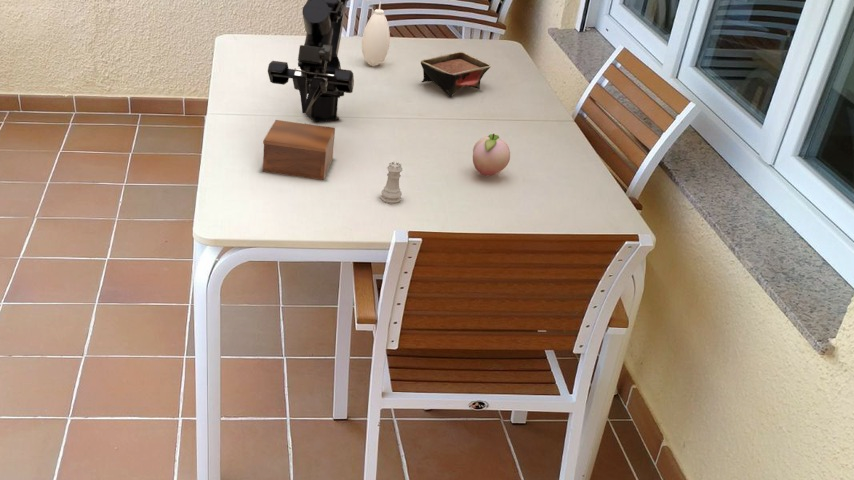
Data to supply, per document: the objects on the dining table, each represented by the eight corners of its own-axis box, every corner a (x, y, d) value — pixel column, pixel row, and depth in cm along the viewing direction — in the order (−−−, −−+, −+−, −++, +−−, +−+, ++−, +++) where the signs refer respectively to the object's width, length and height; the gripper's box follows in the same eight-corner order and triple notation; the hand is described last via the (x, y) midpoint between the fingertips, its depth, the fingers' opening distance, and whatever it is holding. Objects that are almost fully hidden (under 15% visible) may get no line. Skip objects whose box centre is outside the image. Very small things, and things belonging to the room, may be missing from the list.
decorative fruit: (505, 187, 213) (514, 144, 207) (468, 182, 214) (476, 139, 208) (505, 170, 220) (514, 128, 215) (469, 165, 221) (476, 123, 216)
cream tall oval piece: (360, 59, 280) (367, -5, 270) (387, 62, 280) (395, -2, 269) (358, 67, 274) (365, 2, 264) (386, 70, 273) (393, 5, 263)
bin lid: (325, 152, 206) (325, 148, 205) (263, 143, 208) (263, 140, 207) (334, 131, 216) (335, 127, 215) (275, 123, 218) (275, 119, 217)
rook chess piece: (378, 194, 206) (382, 159, 201) (399, 195, 206) (403, 160, 202) (382, 204, 202) (386, 168, 198) (403, 204, 203) (407, 168, 198)
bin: (323, 180, 210) (326, 150, 206) (262, 171, 212) (264, 142, 208) (332, 159, 220) (334, 131, 216) (274, 151, 222) (275, 123, 218)
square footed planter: (489, 99, 265) (498, 61, 260) (442, 99, 255) (450, 60, 250) (453, 86, 275) (460, 50, 270) (406, 86, 265) (413, 48, 260)
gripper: (271, 23, 208) (257, 90, 205) (357, 33, 205) (344, 101, 203) (277, 49, 219) (264, 113, 216) (358, 59, 216) (346, 124, 214)
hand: (304, 112), depth 212 cm, fingers closed
